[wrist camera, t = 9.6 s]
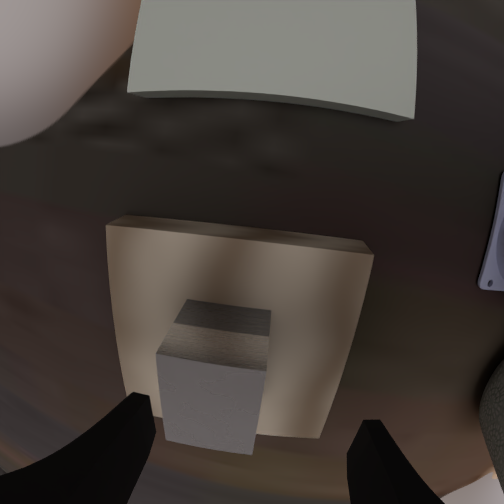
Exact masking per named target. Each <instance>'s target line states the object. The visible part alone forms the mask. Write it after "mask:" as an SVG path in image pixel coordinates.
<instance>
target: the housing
mask: <svg viewBox="0 0 504 504" xmlns="http://www.w3.org/2000/svg"><path fill="white" fill-rule="evenodd" d="M270 321H271V310H265V309H257V308H249V307H241V306H233V305H226V304H218V303H211V302H204V301H197V300H191V299H187V300H186V302H185V303H184V305H183V307H182V309H181V310H180V312H179V314H178V315H177V317H176V319H175V321H174V322H173V324H172V326H171V327H170V329H169V331H168V333H167V334H166V336H165V338H164V340H163V341H162V343H161V345H160V346H159V348H158V350H157V352H156V353H155V354H156V365H157V375H158V384H159V393H160V401H161V409H162V416H163V423H164V430H165V437H166V440H169V441H173V442H178V443H182V444H187V445H192V446H197V447H203V448H208V449H214V450H220V451H227V452H233V453H241V454H249V455H252V452H253V447H254V441H255V436H256V430H257V425H258V419H259V413H260V408H261V402H262V396H263V390H264V384H265V378H266V372H267V360H268V347H269V334H270Z"/></svg>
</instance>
